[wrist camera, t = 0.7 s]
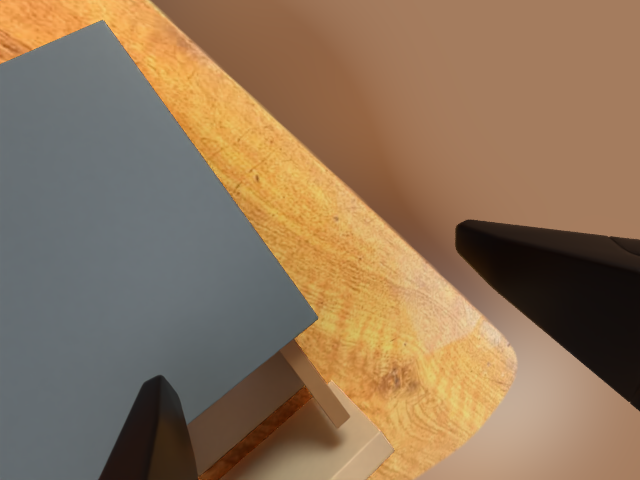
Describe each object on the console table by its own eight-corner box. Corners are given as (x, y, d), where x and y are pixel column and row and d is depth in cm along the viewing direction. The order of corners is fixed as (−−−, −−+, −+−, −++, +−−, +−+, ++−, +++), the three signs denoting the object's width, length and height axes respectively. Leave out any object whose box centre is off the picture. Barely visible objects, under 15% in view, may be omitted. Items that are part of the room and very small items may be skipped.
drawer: (352, 407, 23) (410, 471, 16) (206, 542, 20) (192, 700, 13) (222, 229, 22) (218, 206, 15) (48, 344, 19) (-68, 390, 12)
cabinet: (284, 301, 24) (319, 318, 14) (113, 432, 20) (16, 564, 11) (154, 122, 23) (103, 18, 13) (-48, 231, 19) (-301, 192, 10)
